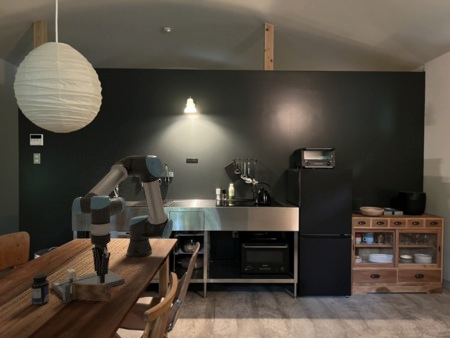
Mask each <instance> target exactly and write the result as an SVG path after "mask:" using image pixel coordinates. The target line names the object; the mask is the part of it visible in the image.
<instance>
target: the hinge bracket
mask: <svg viewBox="0 0 450 338" xmlns="http://www.w3.org/2000/svg"><path fill="white" fill-rule="evenodd" d="M71 299H72V298H71V293H70V284H69V283H65V284H63V298H62V302H63V303H64V304H68V303H71V301H72V300H71Z"/></svg>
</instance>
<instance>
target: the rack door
mask: <svg viewBox="0 0 450 338" xmlns="http://www.w3.org/2000/svg"><path fill="white" fill-rule="evenodd" d="M111 292H112V288H111V286H109V285H95V284H81V283H77V282H72V298H71V299H72V300H71V301H75V300H77V299H79V300H88V301H100V302H101V301H102V302H110V301H112V293H111Z"/></svg>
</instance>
